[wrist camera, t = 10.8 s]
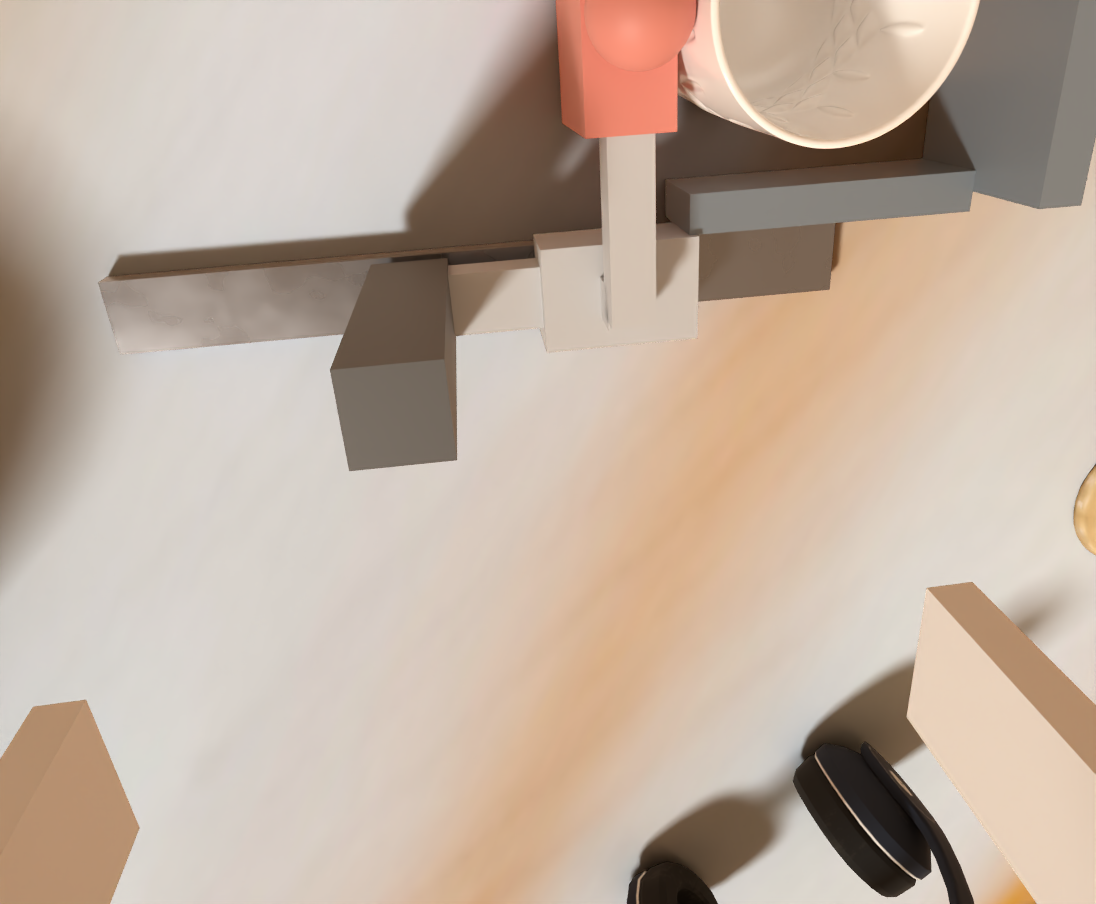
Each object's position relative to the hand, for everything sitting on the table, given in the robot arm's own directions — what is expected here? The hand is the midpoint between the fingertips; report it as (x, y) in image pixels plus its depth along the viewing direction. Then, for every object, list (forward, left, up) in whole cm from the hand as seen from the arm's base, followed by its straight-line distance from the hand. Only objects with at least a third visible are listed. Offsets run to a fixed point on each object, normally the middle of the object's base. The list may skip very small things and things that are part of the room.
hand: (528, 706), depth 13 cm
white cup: (+10, +10, -25) cm, 29 cm away
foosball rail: (0, +1, -25) cm, 25 cm away
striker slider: (+2, +6, -24) cm, 25 cm away
